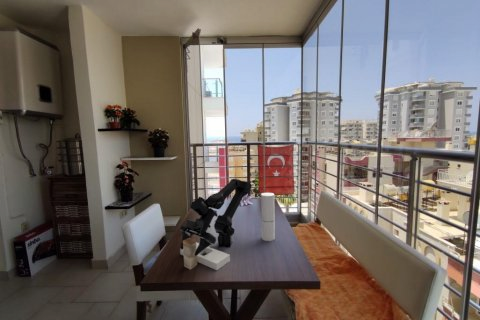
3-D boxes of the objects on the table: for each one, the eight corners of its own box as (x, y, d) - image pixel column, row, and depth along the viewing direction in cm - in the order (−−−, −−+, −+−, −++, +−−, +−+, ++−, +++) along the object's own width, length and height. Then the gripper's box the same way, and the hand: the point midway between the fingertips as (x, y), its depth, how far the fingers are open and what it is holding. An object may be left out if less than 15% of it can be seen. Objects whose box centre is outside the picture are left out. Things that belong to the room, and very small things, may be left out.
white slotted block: (194, 246, 121) (194, 241, 121) (230, 260, 107) (229, 254, 106) (180, 254, 114) (180, 248, 113) (216, 270, 100) (216, 263, 99)
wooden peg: (191, 262, 106) (189, 237, 105) (197, 265, 104) (195, 239, 103) (184, 266, 103) (182, 240, 102) (190, 269, 101) (189, 243, 99)
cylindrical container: (273, 235, 132) (273, 192, 130) (275, 240, 125) (275, 195, 122) (261, 235, 132) (260, 192, 129) (262, 241, 125) (262, 196, 122)
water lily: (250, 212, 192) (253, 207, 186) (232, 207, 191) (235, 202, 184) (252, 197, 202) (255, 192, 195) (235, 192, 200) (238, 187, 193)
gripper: (181, 208, 110) (163, 239, 102) (210, 215, 99) (192, 251, 91) (195, 219, 117) (178, 249, 109) (223, 227, 106) (206, 261, 98)
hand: (188, 252), depth 102 cm, fingers open, 9 cm apart
